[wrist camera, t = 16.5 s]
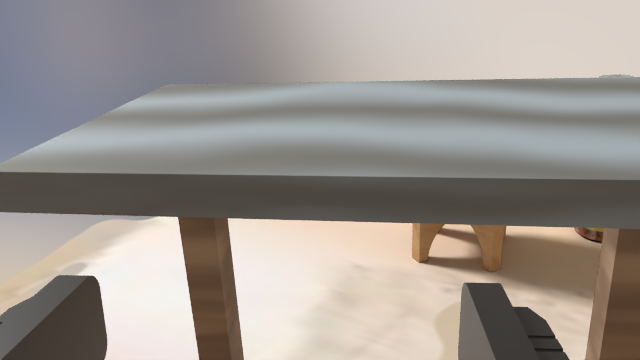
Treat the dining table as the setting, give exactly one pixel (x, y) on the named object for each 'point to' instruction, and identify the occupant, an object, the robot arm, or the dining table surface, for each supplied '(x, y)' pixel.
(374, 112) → the slanted top stand
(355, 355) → the dining table surface
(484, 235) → the planter
